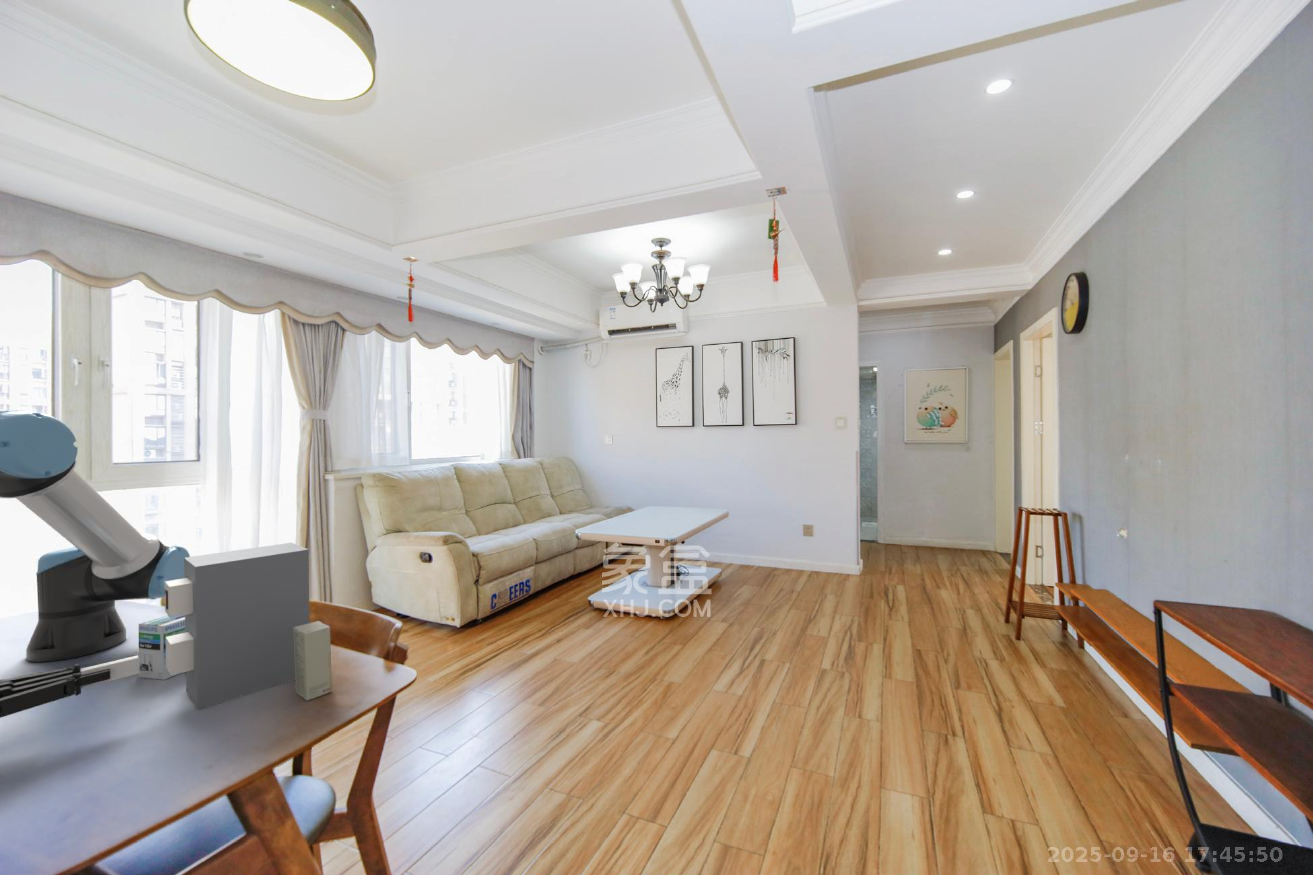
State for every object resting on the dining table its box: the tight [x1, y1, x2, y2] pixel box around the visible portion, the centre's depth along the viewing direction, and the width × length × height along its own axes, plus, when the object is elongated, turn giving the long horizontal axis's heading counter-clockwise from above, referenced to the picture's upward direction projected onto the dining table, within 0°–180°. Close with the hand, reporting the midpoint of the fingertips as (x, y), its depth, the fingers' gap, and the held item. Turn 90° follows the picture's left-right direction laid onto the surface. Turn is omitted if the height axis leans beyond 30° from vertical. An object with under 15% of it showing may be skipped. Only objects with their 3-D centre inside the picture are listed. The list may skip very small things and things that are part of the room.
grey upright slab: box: [184, 542, 311, 711], centre depth 100 cm, size 11×17×25 cm, turn 140°
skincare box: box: [293, 620, 333, 701], centre depth 96 cm, size 6×4×12 cm
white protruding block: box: [164, 578, 193, 618], centre depth 93 cm, size 5×6×5 cm
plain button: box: [166, 632, 194, 676], centre depth 93 cm, size 5×6×5 cm
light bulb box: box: [138, 614, 185, 681], centre depth 107 cm, size 11×7×11 cm, turn 168°
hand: (138, 664), depth 88 cm, fingers closed
